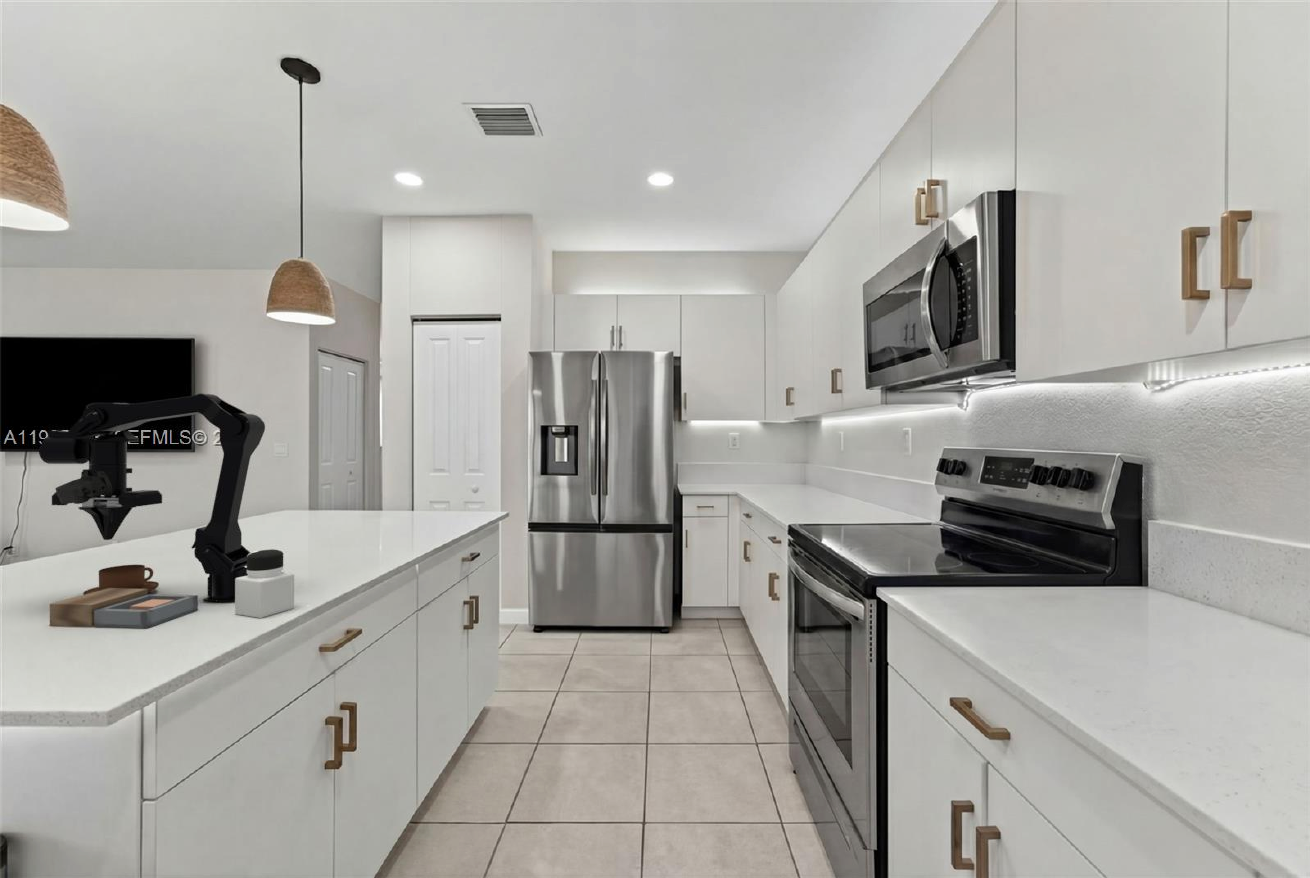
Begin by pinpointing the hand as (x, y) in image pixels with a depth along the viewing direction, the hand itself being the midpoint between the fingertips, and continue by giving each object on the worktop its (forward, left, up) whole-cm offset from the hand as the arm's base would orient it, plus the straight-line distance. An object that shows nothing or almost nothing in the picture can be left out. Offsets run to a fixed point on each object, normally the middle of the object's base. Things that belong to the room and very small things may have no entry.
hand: (107, 539), depth 121 cm
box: (-17, +9, -13) cm, 24 cm away
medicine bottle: (-36, +3, -13) cm, 38 cm away
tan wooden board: (-8, +9, -13) cm, 18 cm away
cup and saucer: (+2, -5, -13) cm, 14 cm away
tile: (-19, +10, -10) cm, 23 cm away
